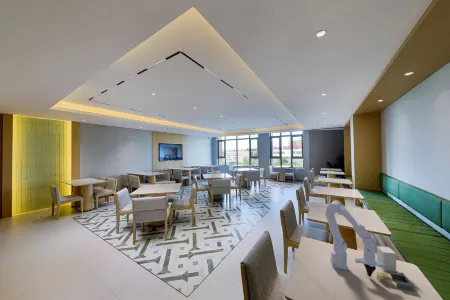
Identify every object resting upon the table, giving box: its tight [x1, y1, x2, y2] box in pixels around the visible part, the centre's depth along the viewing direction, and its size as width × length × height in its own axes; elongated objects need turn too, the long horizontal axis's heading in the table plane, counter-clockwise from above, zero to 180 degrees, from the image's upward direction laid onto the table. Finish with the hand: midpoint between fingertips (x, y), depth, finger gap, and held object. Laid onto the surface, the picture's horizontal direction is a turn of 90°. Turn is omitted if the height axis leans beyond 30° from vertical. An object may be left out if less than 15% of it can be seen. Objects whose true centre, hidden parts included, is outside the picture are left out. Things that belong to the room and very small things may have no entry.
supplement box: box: [376, 245, 397, 273], centre depth 118 cm, size 7×7×13 cm
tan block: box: [376, 271, 393, 285], centre depth 108 cm, size 6×3×4 cm, turn 70°
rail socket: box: [389, 272, 415, 292], centre depth 106 cm, size 7×10×3 cm
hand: (369, 275), depth 110 cm, fingers closed
